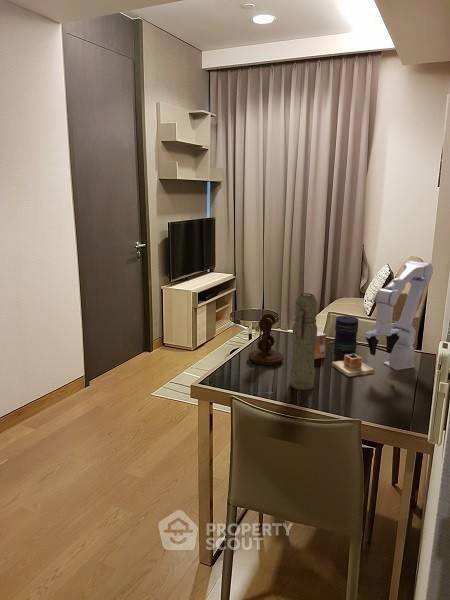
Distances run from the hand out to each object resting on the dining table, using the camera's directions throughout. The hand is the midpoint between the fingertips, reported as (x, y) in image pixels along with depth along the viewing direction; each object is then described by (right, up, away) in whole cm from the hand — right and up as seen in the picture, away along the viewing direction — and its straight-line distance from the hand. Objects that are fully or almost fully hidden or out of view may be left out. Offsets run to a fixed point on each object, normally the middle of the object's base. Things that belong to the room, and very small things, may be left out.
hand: (380, 353), depth 182 cm
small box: (-22, -4, +22) cm, 31 cm away
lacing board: (-9, -7, +9) cm, 14 cm away
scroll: (-43, -5, +16) cm, 47 cm away
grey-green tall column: (-32, -11, -7) cm, 34 cm away
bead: (-9, -6, +8) cm, 13 cm away
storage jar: (-7, -2, +29) cm, 30 cm away
